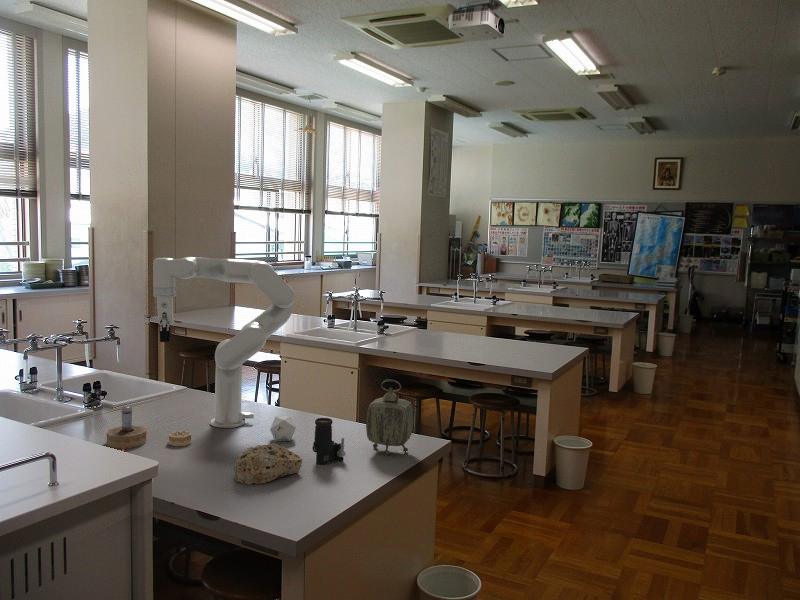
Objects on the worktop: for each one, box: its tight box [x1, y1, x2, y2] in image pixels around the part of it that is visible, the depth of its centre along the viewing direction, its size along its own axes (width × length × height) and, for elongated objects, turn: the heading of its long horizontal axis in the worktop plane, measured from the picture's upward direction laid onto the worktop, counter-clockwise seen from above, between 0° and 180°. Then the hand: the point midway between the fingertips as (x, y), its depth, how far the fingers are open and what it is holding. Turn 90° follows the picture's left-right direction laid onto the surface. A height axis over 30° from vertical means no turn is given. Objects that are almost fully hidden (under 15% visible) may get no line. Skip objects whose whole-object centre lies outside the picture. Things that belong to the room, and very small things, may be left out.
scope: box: [312, 417, 346, 466], centre depth 204 cm, size 8×14×10 cm
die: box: [269, 415, 297, 442], centre depth 224 cm, size 8×9×10 cm
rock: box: [233, 443, 304, 486], centre depth 192 cm, size 21×14×10 cm
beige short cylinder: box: [168, 430, 192, 447], centre depth 217 cm, size 7×7×3 cm
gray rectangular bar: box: [120, 405, 133, 433], centre depth 215 cm, size 3×3×12 cm
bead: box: [106, 424, 148, 449], centre depth 215 cm, size 12×12×4 cm
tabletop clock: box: [365, 378, 415, 456], centre depth 215 cm, size 14×9×25 cm, turn 74°
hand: (165, 339), depth 232 cm, fingers open, 9 cm apart
